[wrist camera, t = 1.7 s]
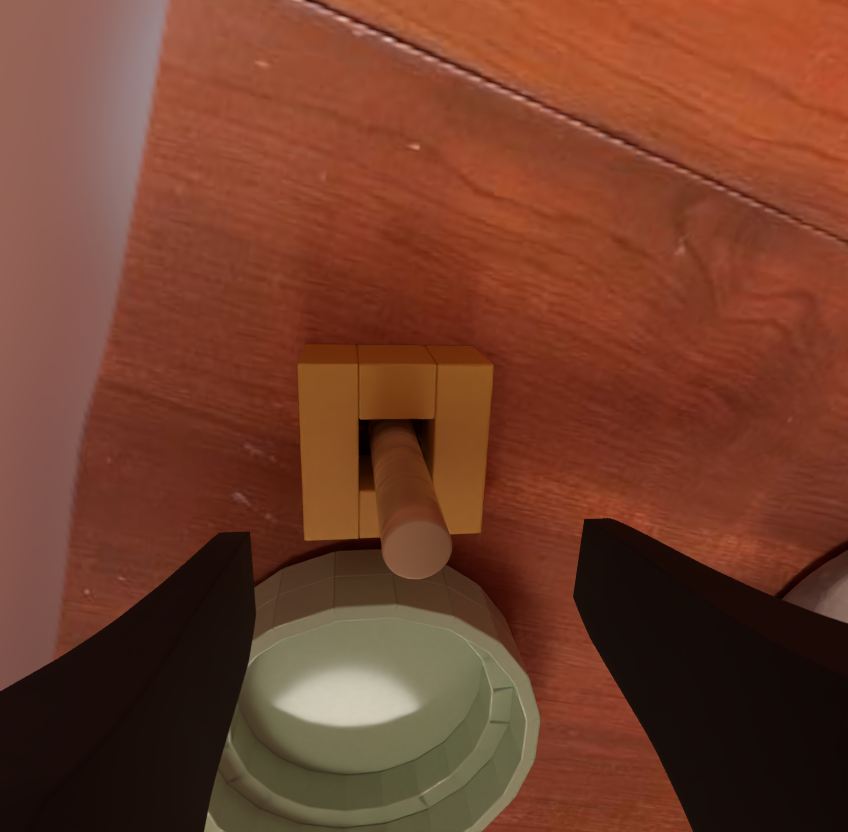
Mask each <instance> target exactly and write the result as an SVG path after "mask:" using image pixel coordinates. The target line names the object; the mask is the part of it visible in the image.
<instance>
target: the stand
mask: <svg viewBox="0 0 848 832" xmlns="http://www.w3.org/2000/svg"><path fill="white" fill-rule="evenodd" d="M493 372H494V365H493V364H492V363H491V362H490V361H489V360H488V359H487V358H486V357H485V356H484V355H482V354H481V353H480V352H479V351H478V350H477V349H476V348H475V347H474V346H457V345H427V346H425V347H424V346H423V345H357V346H356V345H355V344H305V345H304V348H303V350H302V353H301V356H300V358H299V361H298V364H297V374H298V399H299V424H300V449H301V474H302V499H303V524H304V540H305V541H312V540H336V539H358V538H359V537H360V538H378V537H380V530H379V521H378V512H377V503H376V494H375V485H374V476H373V467H372V458H371V455H368V456H359V419H361V420H365V419H422V434H421V451H422V454H423V457H424V460H425V463H426V466H427V469H428V472H429V475H430V477H431V480H432V483H433V486H434V489H435V492H436V495H437V498H438V501H439V504H440V507H441V510H442V512H443V515H444V518H445V521H446V524H447V527H448V530H449V533H450V534H474V533H480V532H481V527H482V514H483V501H484V488H485V475H486V463H487V450H488V437H489V424H490V411H491V398H492V385H493Z"/></svg>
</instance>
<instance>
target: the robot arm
mask: <svg viewBox="0 0 848 832" xmlns="http://www.w3.org/2000/svg"><path fill="white" fill-rule="evenodd" d="M573 598H574V601H575V603H576V606H577V608H578V611H579V613H580V616H581V618H582V621H583V623H584V625H585V627H586V630H587V632H588V634H589V636H590V638H591V640H592V642H593V644H594V646H595V647H596V649H597V651H598V652H599V654H600V656H601V658H602V659H603V661H604V663H605V664H606V666H607V668H608V670H609V671H610V673H611V675H612V676H613V678H614V680H615V681H616V683H617V685H618V686H619V688H620V690H621V691H622V693H623V695H624V696H625V698H626V700H627V701H628V703H629V705H630V707H631V708H632V710H633V712H634V713H635V715H636V717H637V718H638V720H639V722H640V723H641V725H642V727H643V728H644V730H645V732H646V734H647V735H648V737H649V739H650V741H651V743H652V745H653V746H654V748H655V750H656V752H657V754H658V756H659V758H660V760H661V762H662V765H663V767H664V769H665V771H666V773H667V775H668V777H669V779H670V781H671V784H672V786H673V788H674V790H675V792H676V794H677V796H678V798H679V801H680V803H681V805H682V807H683V809H684V812H685V814H686V816H687V819H688V821H689V823H690V825H691V828H692V830H693V832H848V623H845V622H842V621H839V620H836V619H833V618H830V617H827V616H824V615H822V614H819V613H816V612H813V611H810V610H807V609H805V608H802V607H800V606H797V605H795V604H792V603H789V602H787V601H784V600H782V599H779V598H777V597H774V596H772V595H769V594H767V593H764V592H762V591H760V590H757V589H755V588H753V587H750V586H748V585H746V584H744V583H742V582H739V581H737V580H735V579H733V578H731V577H729V576H727V575H724V574H722V573H720V572H718V571H716V570H714V569H712V568H710V567H708V566H706V565H704V564H702V563H700V562H698V561H696V560H694V559H692V558H690V557H688V556H686V555H684V554H682V553H680V552H678V551H676V550H674V549H673V548H671V547H669V546H667V545H665V544H663V543H661V542H659V541H657V540H655V539H653V538H651V537H650V536H648V535H646V534H644V533H642V532H640V531H638V530H636V529H634V528H632V527H630V526H628V525H626V524H623V523H621V522H619V521H616V520H614V519H611V518H603V519H584V525H583V532H582V539H581V546H580V553H579V560H578V567H577V573H576V580H575V587H574V594H573ZM255 620H256V605H255V592H254V578H253V565H252V552H251V539H250V532H226V533H218V534H217V535H216V536H215V537H213V538H212V539H211V540H210V541H209V542H208V543H207V544H206V545H205V546H203V547H202V548H201V549H200V550H199V551H198V552H197V553H196V554H195V555H194V556H192V557H191V558H190V559H189V560H188V561H187V562H186V563H185V564H184V565H182V566H181V567H180V568H179V569H178V570H177V571H176V572H174V573H173V574H172V575H171V576H170V577H169V578H168V579H166V580H165V581H164V582H163V583H162V584H161V585H159V586H158V587H157V588H156V589H154V590H153V591H152V592H151V593H149V594H148V595H147V596H146V597H144V598H143V599H142V600H141V601H139V602H138V603H137V604H135V605H134V606H133V607H132V608H130V609H129V610H128V611H127V612H125V613H124V614H123V615H121V616H120V617H119V618H118V619H116V620H115V621H113V622H112V623H111V624H109V625H108V626H106V627H105V628H104V629H102V630H101V631H99V632H98V633H96V634H95V635H93V636H92V637H90V638H89V639H87V640H86V641H84V642H83V643H81V644H80V645H78V646H77V647H75V648H74V649H72V650H71V651H69V652H68V653H66V654H64V655H63V656H61V657H59V658H58V659H56V660H54V661H53V662H51V663H49V664H47V665H46V666H44V667H42V668H41V669H39V670H37V671H35V672H33V673H32V674H30V675H28V676H26V677H25V678H23V679H21V680H20V681H18V682H16V683H14V684H13V685H11V686H9V687H7V688H5V689H4V690H2V691H0V832H204V830H205V825H206V819H207V814H208V809H209V804H210V799H211V794H212V790H213V786H214V782H215V778H216V774H217V770H218V767H219V764H220V760H221V757H222V753H223V750H224V746H225V743H226V739H227V736H228V733H229V729H230V726H231V722H232V719H233V715H234V712H235V709H236V705H237V702H238V698H239V695H240V691H241V688H242V684H243V681H244V677H245V674H246V670H247V667H248V663H249V658H250V652H251V646H252V640H253V634H254V627H255Z"/></svg>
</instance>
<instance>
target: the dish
mask: <svg viewBox="0 0 848 832" xmlns="http://www.w3.org/2000/svg"><path fill="white" fill-rule="evenodd" d="M782 600H784V601H787V602H789V603H792V604H795V605H797V606H800V607H802V608H805V609H807V610H810V611H813V612H816V613H819V614H822V615H824V616H827V617H830V618H833V619H836V620H839V621H842V622H845V623H848V550H846V551H845V552H843V553H842V554H840V555H839V556H837V557H835V558H833V559H831V560H830V561H828V562H826V563H825V564H823V565H822V566H820V567H819V568H817V569H816V570H815V571H813V572H812V573H810V574H809V575H808V576H807V577H806V578H804V579H803V580H802V581H801V582H800V583H798V584H797V585H796V586H795V587H794V588H793V589H792V590H791V591H790V592H788V593H787V594H786V595H785V596H784V597H783V599H782Z"/></svg>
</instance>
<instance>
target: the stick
mask: <svg viewBox="0 0 848 832" xmlns="http://www.w3.org/2000/svg"><path fill="white" fill-rule="evenodd" d="M368 431H369V440H370V449H371V458H372V467H373V476H374V485H375V494H376V503H377V512H378V521H379V530H380V539H381V548H382V555H383V559H384V562H385V563H386V565H387V566H388V568H389V569H390V570H391V571H392V572H394V573H395V574H397V575H399V576H401V577H403V578H407V579H422V578H426V577H429V576H431V575H434V574H435V573H437V572H438V571H439V570H441V569H442V568H443V567H444V566H445V564H446V563H447V561H448V560H449V557H450V555H451V552H452V539H451V536H450V533H449V530H448V527H447V524H446V521H445V518H444V515H443V512H442V510H441V507H440V504H439V501H438V498H437V495H436V492H435V489H434V486H433V483H432V480H431V477H430V475H429V472H428V469H427V466H426V463H425V460H424V457H423V454H422V451H421V448H420V445H419V443H418V440H417V437H416V434H415V431H414V428H413V425H412V422H411V419H369V421H368Z"/></svg>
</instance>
